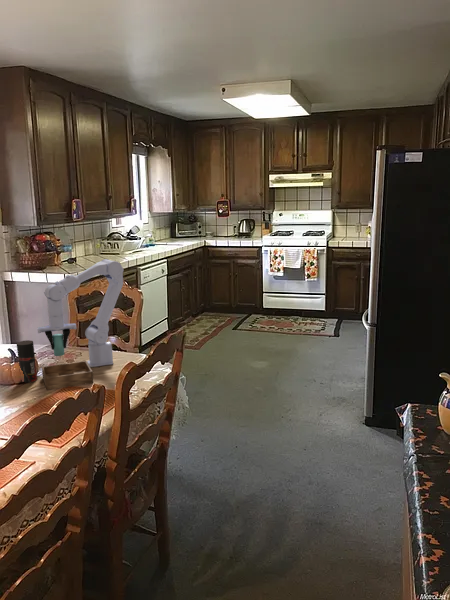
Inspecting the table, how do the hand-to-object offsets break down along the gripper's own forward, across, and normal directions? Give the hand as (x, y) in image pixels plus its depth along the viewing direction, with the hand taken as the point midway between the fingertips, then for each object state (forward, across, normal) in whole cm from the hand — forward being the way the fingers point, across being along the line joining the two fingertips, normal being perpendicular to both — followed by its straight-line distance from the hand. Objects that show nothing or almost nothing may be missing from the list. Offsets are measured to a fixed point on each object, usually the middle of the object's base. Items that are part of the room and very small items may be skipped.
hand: (58, 348), depth 209 cm
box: (+10, +1, -11) cm, 15 cm away
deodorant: (+10, -12, -4) cm, 16 cm away
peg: (+3, 0, 0) cm, 3 cm away
